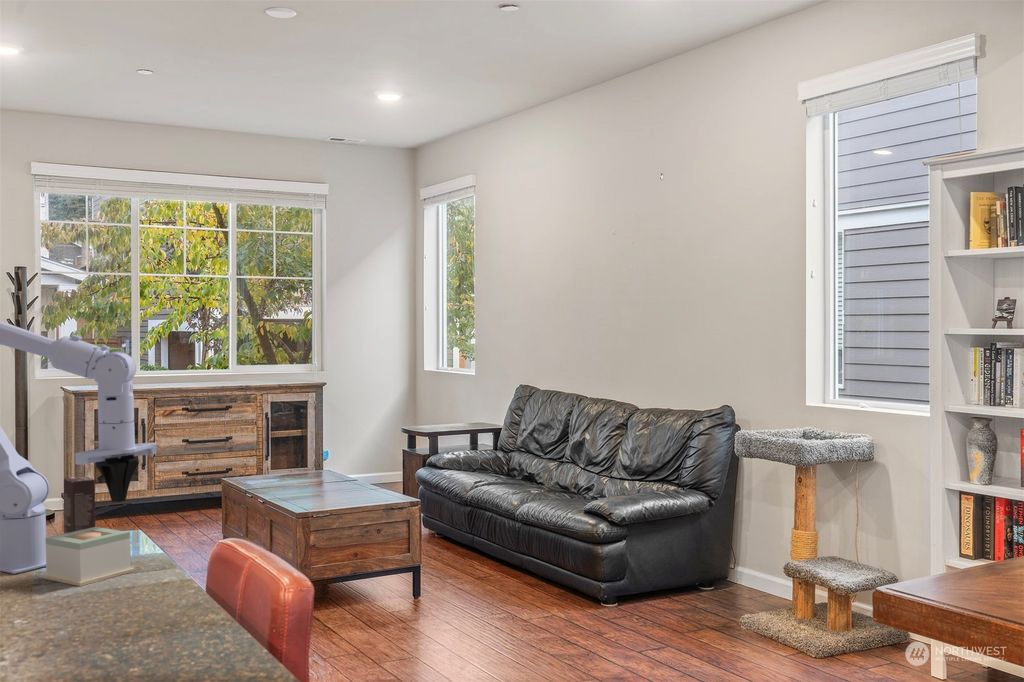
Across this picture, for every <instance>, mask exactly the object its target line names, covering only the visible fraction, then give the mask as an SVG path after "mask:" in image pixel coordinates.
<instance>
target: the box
mask: <svg viewBox="0 0 1024 682" xmlns="http://www.w3.org/2000/svg"><path fill="white" fill-rule="evenodd" d="M93 527H96V480H95V479H94V478H91V477H88V476H77V477H76V476H75V477H74V476H73V477H65V478H64V479H63V534H65V533H70V532H74V531H79V530H84V529H88V528H93Z"/></svg>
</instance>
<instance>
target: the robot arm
mask: <svg viewBox="0 0 1024 682" xmlns="http://www.w3.org/2000/svg"><path fill="white" fill-rule="evenodd" d="M82 339H83V337H82V336H80V335H77V334H76V335H75V334H73V335H72V336H71V337H70V336H68V335H66V336H62V337H61V338H58V339H52V338H50V337H47V336H44V335H41V334H38V333H36V332H33V331H31V330H27V329H24V328H21V327H19V326H17V325H13V324H10V323H7V322H5V321H0V345H2V346H5V347H9V348H13V349H16V350H21V351H24V352H27V353H30V354H33V355H36V356H39V357H40V356H41V357H45V358H47V359H48V360H49V362H50V363H51V366H52V367H53V368H54V369H58V370H60V371H64V372H67V373H69V374H73V375H77V376H79V377H83V378H85V379H89V380H92V379H94V381H95V382H96V383H97V418H98V419H97V420H98V421H97V422H98V423H97V425H98V428H97V429H98V431H97V432H98V448H95V449H93V448H92V449H89V450H84V451H78V452H75V453H74V455H75V456H74V458H75V460H74V461H75V463H74V464H75V465H78V466H80V465H81V466H85V465H88V464H93V463H95V465H96V466H95V467H96V468H97V470H98V471H99V473H100V474H101V476H102V478H103V480H104V482H105V484H106V486H107V489H108V493H109V496H110V499H111V502H115V503H122V502H126V500H127V495H128V492H129V487H130V483H131V481H132V477H133V475H134V473H135V471H136V470H137V467H138V466H139V463H140V462H139V460H140V459H139V458H135V457H139V456H145V455H146V456H147V455H156V454H157V442H144V443H142V442H141V443H136V442H135V441H136V436H135V404H134V403H135V399H134V396H135V395H134V390H133V389H134V386H133V382H134V381H133V378H134V377H135V376H136V372H137V365H136V362H135V360H134V358H133V357H132V356H130V355H129V354H127V353H125V352H124V351H123V350H115V351H112V352H110V349H111V348H110V346H107V345H102V346H99V345H95V344H92V343H89V342H87V341H82ZM49 494H50V482H49V481H48V479H47V478H46V476H45V475H44V474H42V473H40V472H39V471H37V470H36V469H35V468H34V467H33V466H32V464H31V462H30V461H29V460H27V459H25V458H24V457H23V456H22V455H20V454H19V453H18V452H17V450H16V448H15V447H14V446H13V443H12V442H11V441H10V439H9V437H8V436H7V434H6V432H5V431H4V429H3V428H2V425H0V572H5V573H7V574H8V573H9V574H15V575H16V574H19V573H24V572H28V571H32V570H36V569H39V568H43V567H46V540H45V538H47V517H46V516H47V515H46V511H47V509H46V507H45V506H44V502H45V501H47V498H48V497H49Z"/></svg>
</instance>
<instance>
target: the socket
mask: <svg viewBox="0 0 1024 682" xmlns="http://www.w3.org/2000/svg"><path fill="white" fill-rule="evenodd" d="M89 532H98V533H101V536H99V537H94V538H90V539H86V540H80V539H74V536H75V535H78V534H82V533H89ZM130 533H131V532H130V531H126V530H125V531H124V530H118V529H112V528H105V527H99V526H95V527H93V528H88V529H84V530H79V531H74V532H70V533H65V534H64V533H62V534H57V535H51V536H46V538H45V540H46V566H45V567H46V568H45V569H46V570H45V571H46V573H44V574H41V579H44V580H49V581H54V582H59V583H64V584H67V585H73V586H77V587H81V586H85V585H89V584H93V583H96V582H100V581H104V580H107V579H111V578H116V577H119V576H123V575H127V574H129V573H134V572H136V567H133V566H132V567H131V541H130V540H131V537H130V535H131V534H130Z"/></svg>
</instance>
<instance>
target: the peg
mask: <svg viewBox="0 0 1024 682" xmlns="http://www.w3.org/2000/svg"><path fill="white" fill-rule="evenodd" d="M99 536H101V533H98V532H89V533H82V534H78V535H75V536H74V539H80V540H86V539H90V538H94V537H99Z"/></svg>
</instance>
